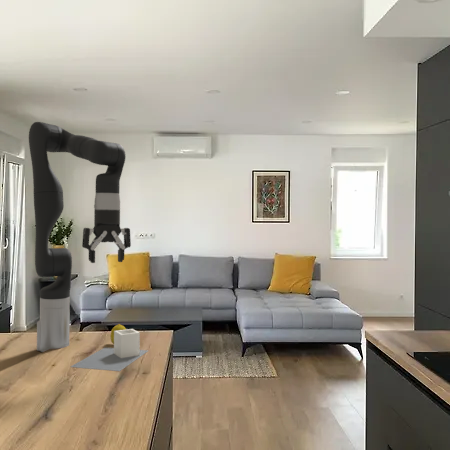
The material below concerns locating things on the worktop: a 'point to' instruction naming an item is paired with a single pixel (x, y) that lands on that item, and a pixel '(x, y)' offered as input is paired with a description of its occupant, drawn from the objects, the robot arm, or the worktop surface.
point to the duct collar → (126, 343)
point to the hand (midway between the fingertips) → (106, 262)
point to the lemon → (116, 328)
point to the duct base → (107, 360)
